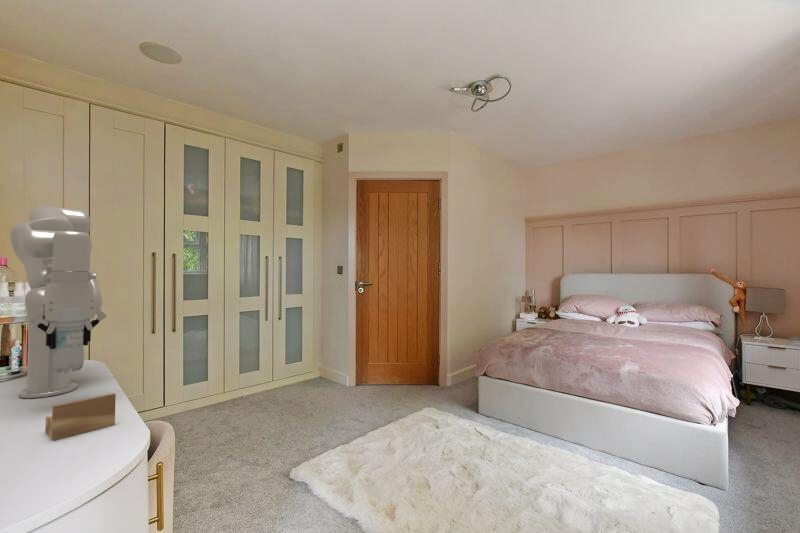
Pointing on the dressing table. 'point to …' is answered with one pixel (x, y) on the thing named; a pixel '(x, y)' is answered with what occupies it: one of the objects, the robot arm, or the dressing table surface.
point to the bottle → (69, 341)
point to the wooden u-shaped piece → (80, 416)
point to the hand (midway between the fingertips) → (68, 345)
